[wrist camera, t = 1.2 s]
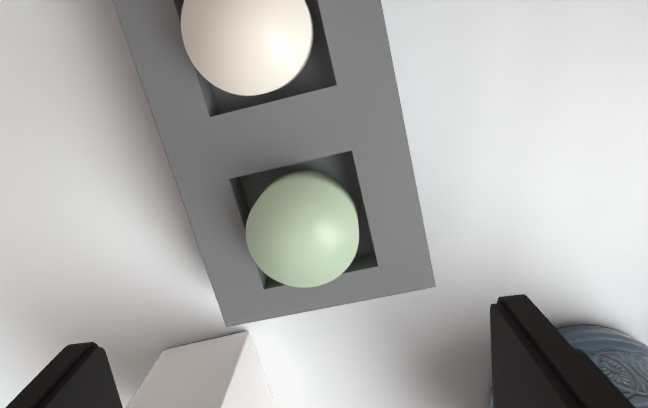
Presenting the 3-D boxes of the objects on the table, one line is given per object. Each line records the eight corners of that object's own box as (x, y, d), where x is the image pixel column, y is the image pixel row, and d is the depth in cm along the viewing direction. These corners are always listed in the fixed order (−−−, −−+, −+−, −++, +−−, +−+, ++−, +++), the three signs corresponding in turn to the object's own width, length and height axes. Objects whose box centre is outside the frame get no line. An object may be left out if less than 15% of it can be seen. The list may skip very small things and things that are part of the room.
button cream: (297, -45, 22) (290, -61, 19) (325, 77, 23) (323, 78, 21) (183, -13, 22) (162, -23, 20) (219, 104, 24) (204, 108, 22)
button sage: (344, 158, 25) (344, 169, 22) (367, 255, 26) (369, 275, 24) (243, 182, 25) (231, 195, 23) (271, 275, 27) (263, 297, 24)
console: (307, -327, 22) (296, -437, 17) (421, 253, 31) (435, 286, 26) (71, -241, 23) (1, -320, 19) (244, 288, 32) (226, 327, 27)
